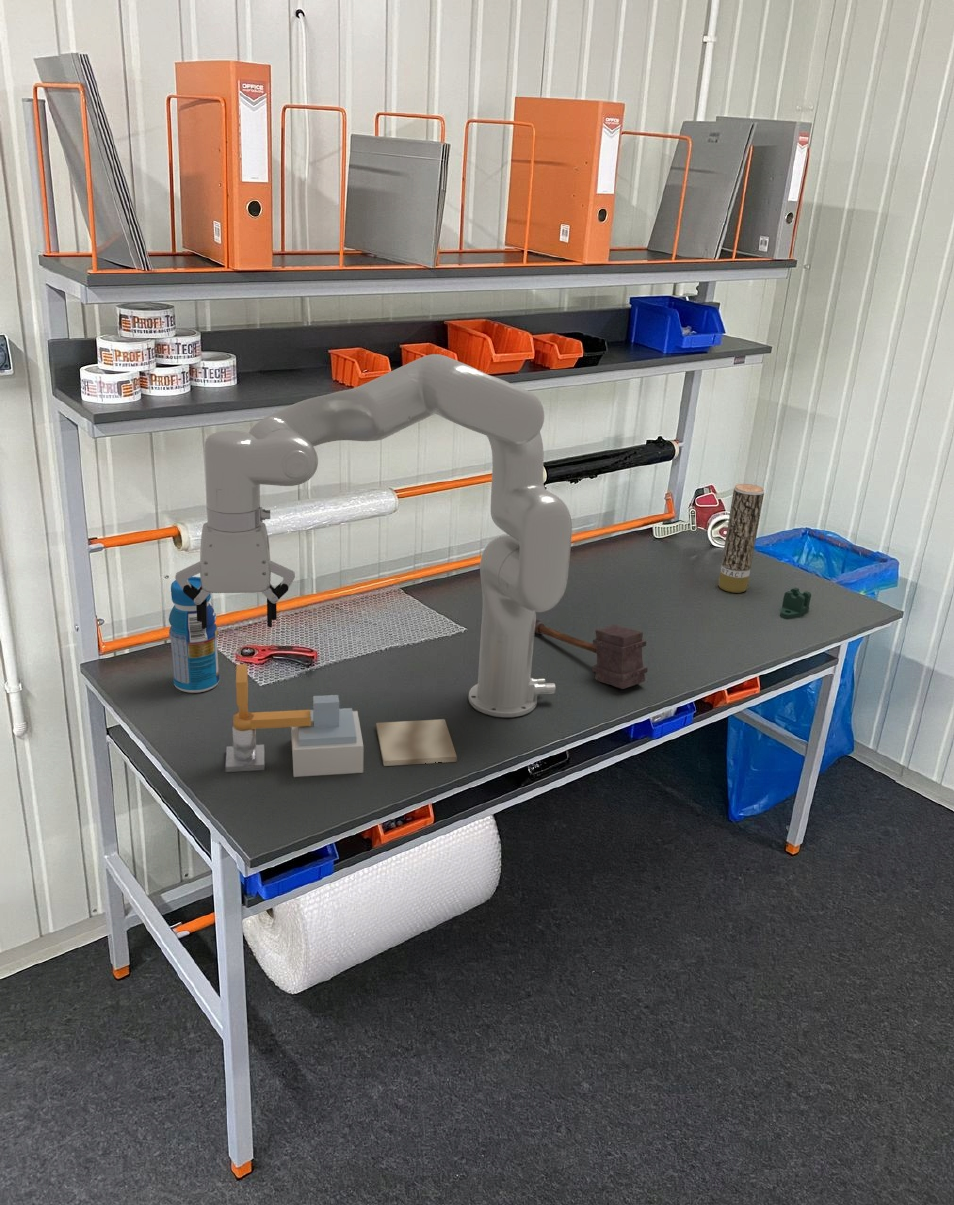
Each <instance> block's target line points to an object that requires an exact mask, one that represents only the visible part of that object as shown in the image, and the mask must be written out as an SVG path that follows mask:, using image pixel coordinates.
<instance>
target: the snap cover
mask: <svg viewBox="0 0 954 1205" xmlns="http://www.w3.org/2000/svg"><path fill="white" fill-rule="evenodd" d="M312 701H313V704H312V707H313V708H312V709H309V710H310V713H311V726H300V727H298V735H299V746H311V745H329V744H347V743H357V736H356V730H355V724H354V718H353V711H354V710H353V708H352V707H347V708H340V699H339V694H329V695H313V697H312Z"/></svg>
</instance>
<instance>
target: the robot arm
mask: <svg viewBox="0 0 954 1205" xmlns="http://www.w3.org/2000/svg"><path fill="white" fill-rule="evenodd" d="M434 415H437V416H440V417H441V418H444V419H445V420H448V421H450V422H452V423H454V424H456V425H459V426H462V427H463V428H466V429H468V430H470V431H474V432H475V433H479V434H481V435H484V436H486V437H487V439H488V442H489V445H490V448H491V455H492V457H491V458H492V460H491V461H492V462H491V463H492V469H491V470H492V472H491V489H490V490H491V491H490V516H491V519H492V522H493V523H494V524H495V526H496V527H497V528H499V529H500V530H501V531H502V532H503V533H506V534H507V535H501V536H498V537H495V538H493V540H491V541H490V542H489V543H488V544H487V545H486V546H485V548H484V549H483V552H482V554H481V558H480V562H479V574H480V583H481V590H482V591H481V592H482V594H481V595H482V614H481V615H482V616H481V626H480V627H481V628H480V644H479V658H478V660H479V661H478V673H477V678H478V679H477V683H476V684H475V685H473V686H472V687H471V688H470V689H469V690H468V703H469V704H470V705H471V707H473V708H474V709H475V710H476V711H478V712H480V713H482V714H484V715H488V716H492V717H496V718H516V717H517V718H518V717H521V716H525V715H527V714H529V713H531V712H532V711H533V710H535V708H536V707H537V704H538V703H537V702H538V696H539V695H540V694H545V695H547V694H549V695H550V694H552V695H553V694H555V693H556V684H555V683H554V682H546V678H533V677H531V675H532V665H533V663H532V662H533V652H534V643H535V642H534V640H535V633H534V631H535V622H536V620H537V613H543V612H547V611H549V610H550V611H551V610H552V609H554V608H555V607H556V606H557V605H558V604H559V602H560V601H561V600H562V598H563V597H564V594H565V592H566V588H567V585H568V578H569V570H570V569H569V568H570V560H571V559H570V558H571V549H572V548H571V547H572V536H573V535H572V534H573V525H572V524H573V522H572V517H571V514H570V513H571V512H570V510H569V508H568V506H567V504H566V503H565V502H564V500H563V499H561V498H560V497H559V496H557V495H555V494H554V493H553V492H550V491H548V490H547V489H546V487H545V485H544V458H545V457H544V443H543V439H542V435H541V430H542V429H543V426H544V422H545V411H544V406H543V404H542V402H541V400H540V399H539V398H538V396H537V395H535V394H534V393H533V392H531V391H530V390H526V389H525V388H522V387H519V386H517V385H515V384H512V383H511V382H508V381H507V380H504V379H501V378H499V377H497V376H493V375H489V374H487V373H485V372H483V371H482V370H479V369H476V368H475V367H472V366H470V365H468V364H466V363H464V362H461V361H459V360H456V359H454V358H452V357H449V356H447V355H443V354H437V353H436V354H435V353H432V354H427V355H424V356H421V357H419V358H417V359H415V360H413V361H410V362H408V363H406V364H404V365H402V366H400V367H397V368H396V369H393V370H392V371H390V372H387V373H385V374H383V375H381V376H379V377H376V378H374V379H372V380H370V381H368V382H366V383H363V384H361V385H359V386H357V387H354V388H349V389H344V390H339V391H336V392H332V393H329V394H324V395H320V396H319V395H318V396H316V397H315V396H314V397H311V398H307V399H303V400H302V401H301V400H300V401H298V402H296V403H294V404H291V405H288V406H287V407H284V408H282V409H279V410H278V411H275V412H273V413H271V414H269V415H268V416H265V417H264V418H262V419H261V420H258V421H257V422H256V423H255V424H254V425H253V426H252V427H251V428H250V430H249V432H248V433H247V432H246V431H245V432H244V431H240V430H223V431H217V432H216V431H215V432H214V433H212V434H210V435H208V436H207V438H206V440H205V441H204V463H205V464H204V465H205V466H204V467H205V470H204V471H205V489H206V490H205V491H206V492H205V493H206V513H207V514H206V515H207V516H206V518H207V520H206V521H207V522H205V523H203V525H202V529H201V537H200V550H199V551H200V557H199V561H198V562H196V563H193V564H191V565H190V566H188V567H185V568H183V569H182V570H179V571H177V572H175V577H174V578H175V580H176V581H177V582H178V584H179V585H180V587H181V588H182V590H183V592H184V593H185V594H186V595H187V596H188V597H190V598H191V599H192V600H193V601H194V603H195V604H196V610H197V622H198V621H202V629H205V628H207V621H208V618H207V598H206V597H207V596H208V595H209V594H210V593H211V594H239V593H240V594H245V593H247V594H248V593H249V594H250V593H252V594H253V593H254V594H255V593H261V594H263V595H264V596H265V598H266V615H267V617H266V618H267V619H266V620H267V621H266V622H267V623H266V624H267V628H273V621H277V619H278V615H277V603H278V602H279V600H280V599H281V598H282V597H283V596H284V595H285V594H286V593H287V592H289V588H290V587H291V585H292V583H293V582H294V580H295V579H296V575H295V574H296V573H295V571H294V570H292V569H290V568H288V567H285V566H283V565H281V564H279V563H276V562H275V561H273V560H271V551H270V541H269V533H268V529H267V525H266V523H265V522H263V521H266V520H271V509H266V508H263V507H262V506H261V485H267V486H278V487H293V486H300V485H303V484H305V483H306V482H308V481H309V480H310V479H311V478H312V477H314V475H315V473H316V471H317V469H318V465H319V457H318V454H317V453H318V452H317V451H316V449H315V447H317V446H320V445H323V444H326V443H331V442H337V441H351V442H352V441H353V442H377V441H382V440H385V439H387V438H389V437H390V436H392V435H394V434H396V433H398V432H399V433H400V431H402V430H404V429H406V428H408V427H411V426H412V425H415V424H416V423H418V422H420V421H423V420H426V419H427V418H429V417H431V416H434ZM198 574H200V576H199V577H200V579H201V586H200V587H199V588H198V589H197V588H195V587H194V586H193V585H192V584H191V583H189V581H188V578H190V577H195V576H197V575H198ZM272 574H274V575H277V576H279V577H281V578H282V581H281V582H280V583H279V584H277V585H276V587H274V585H273V584H271V583H272V582H271V580H272V579H271V576H272Z"/></svg>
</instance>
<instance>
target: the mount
mask: <svg viewBox="0 0 954 1205" xmlns="http://www.w3.org/2000/svg"><path fill="white" fill-rule="evenodd" d="M811 598H812V593H811V592H810V591H807V590H805V591H804V592H803V593H801V591H800V588H798V587H793V588H791V589H790V590H788V591H786V592H785V593H784V595H783V600H782V605H781V609H780V613H779V617H780V618H781V619H783V620H784V619H785V620H793V619H798V618H801V617H803V616H804V615H806V614H807V613H808V612H809V609H810V602H811Z"/></svg>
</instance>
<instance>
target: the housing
mask: <svg viewBox="0 0 954 1205" xmlns="http://www.w3.org/2000/svg"><path fill="white" fill-rule="evenodd" d="M352 711H353V718H354V724H355V730H356V736H357V743H347V744H329V745H311V746H299V735H298V727H290V730H291V731H290V732H291V736H290V737H291V751H292V752H291V754H292V769H293V771H292V772H293V774H292V775H293V778H298V777H312V776H313V777H314V776H330V775H345V774H346V775H347V774H360V773H361V774H363V773H364V743H363V742H364V741H363V737H362V735H363V734H362V730H361V724H360V718H359V712H358V710H352Z"/></svg>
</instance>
